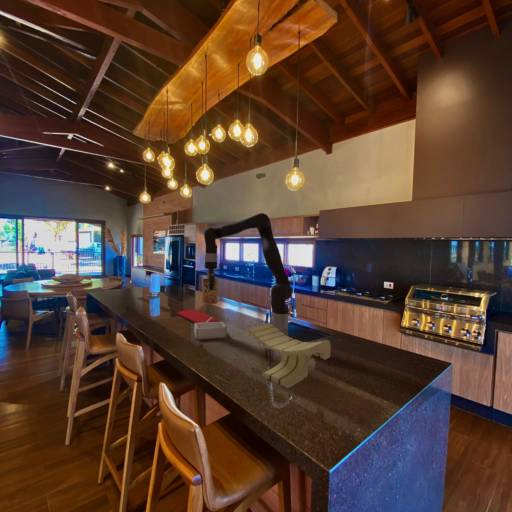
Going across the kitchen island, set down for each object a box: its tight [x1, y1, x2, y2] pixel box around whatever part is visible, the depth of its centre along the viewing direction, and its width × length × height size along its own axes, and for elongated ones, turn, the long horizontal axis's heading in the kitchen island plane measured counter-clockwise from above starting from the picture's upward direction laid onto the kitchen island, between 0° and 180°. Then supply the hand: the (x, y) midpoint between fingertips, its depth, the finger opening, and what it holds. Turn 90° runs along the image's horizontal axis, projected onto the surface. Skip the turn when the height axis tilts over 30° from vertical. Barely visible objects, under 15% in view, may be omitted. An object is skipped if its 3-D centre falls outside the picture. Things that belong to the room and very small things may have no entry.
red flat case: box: [176, 309, 222, 324], centre depth 196 cm, size 16×41×4 cm, turn 39°
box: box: [193, 321, 228, 341], centre depth 161 cm, size 12×17×6 cm
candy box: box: [201, 277, 219, 305], centre depth 167 cm, size 9×4×15 cm, turn 92°
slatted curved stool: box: [248, 323, 332, 389], centre depth 114 cm, size 30×16×18 cm, turn 47°
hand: (210, 288), depth 167 cm, fingers closed on candy box, 5 cm apart
